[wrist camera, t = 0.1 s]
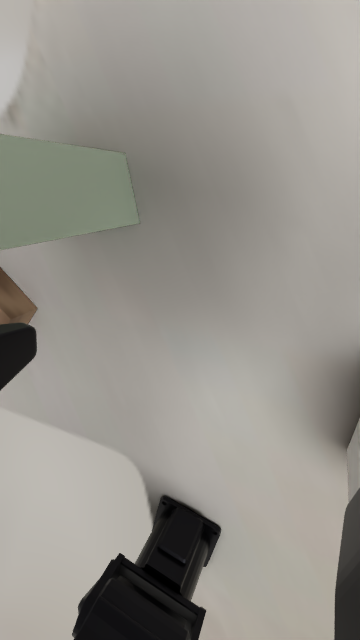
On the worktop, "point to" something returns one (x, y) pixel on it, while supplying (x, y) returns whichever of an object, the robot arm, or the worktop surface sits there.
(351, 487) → the container
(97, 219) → the sage block
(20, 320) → the walnut base
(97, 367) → the worktop surface
